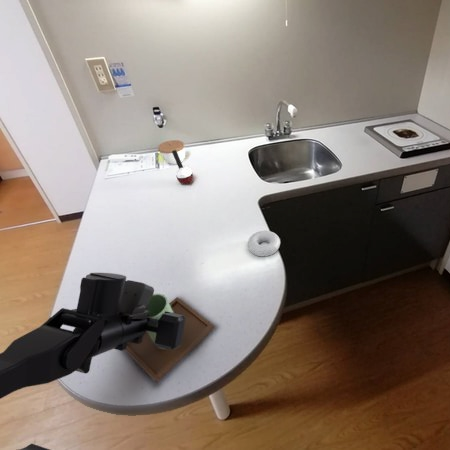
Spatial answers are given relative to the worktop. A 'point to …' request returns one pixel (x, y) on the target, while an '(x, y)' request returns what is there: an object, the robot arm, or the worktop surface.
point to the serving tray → (164, 358)
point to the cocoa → (182, 171)
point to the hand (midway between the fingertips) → (163, 315)
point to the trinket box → (170, 146)
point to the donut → (263, 249)
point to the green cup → (157, 310)
